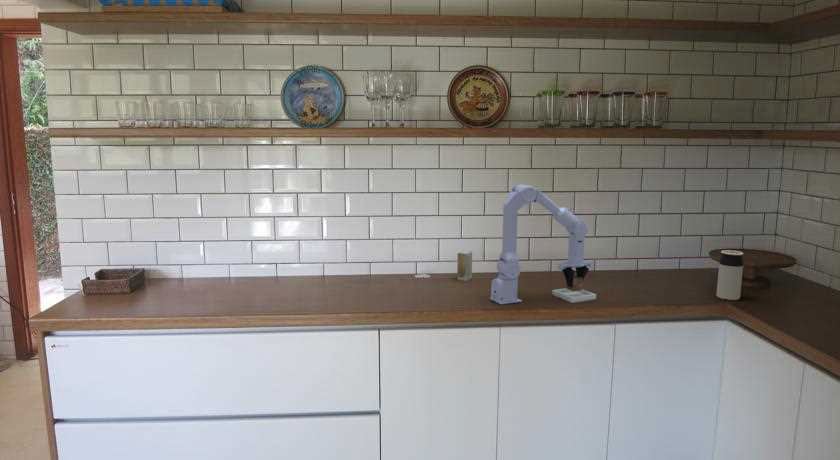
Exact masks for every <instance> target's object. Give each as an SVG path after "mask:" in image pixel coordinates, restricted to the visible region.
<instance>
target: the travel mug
mask: <svg viewBox="0 0 840 460" xmlns="http://www.w3.org/2000/svg"><path fill="white" fill-rule="evenodd" d="M720 253H721V257H720V258H719V263H718V274H717V284H716V297H718V298H719V299H722V300H725V299H727V300H726V301H738V300H740V298H741V292H742V281H743V280H742V279H743V270H744V262H745V261H744V260H743V256H744V252H742V251H738V250H731V249H726V250H721V252H720Z"/></svg>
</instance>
